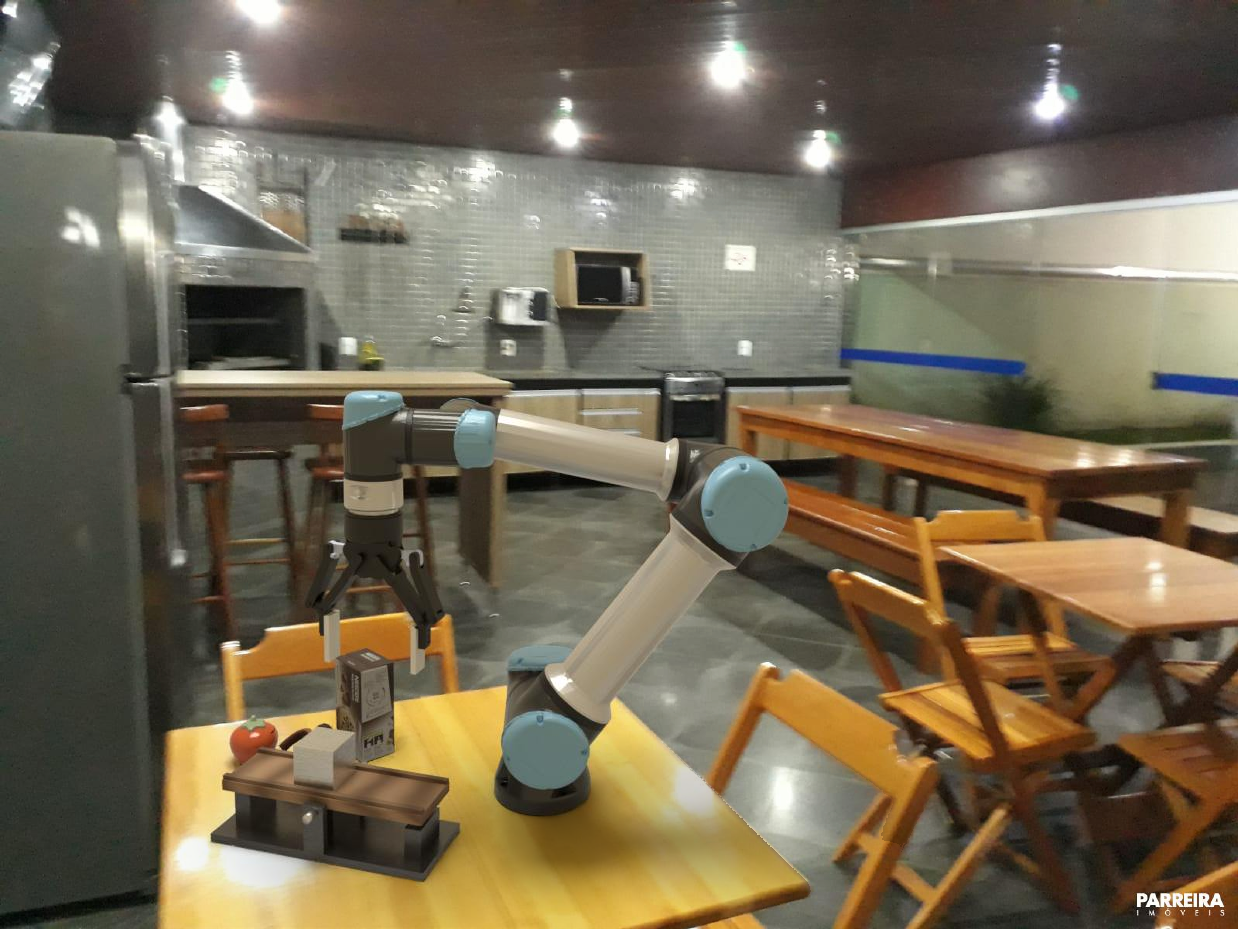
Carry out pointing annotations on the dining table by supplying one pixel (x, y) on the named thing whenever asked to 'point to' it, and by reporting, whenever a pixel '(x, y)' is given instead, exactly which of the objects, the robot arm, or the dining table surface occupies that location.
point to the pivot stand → (337, 836)
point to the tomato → (252, 738)
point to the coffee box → (366, 701)
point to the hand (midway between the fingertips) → (374, 664)
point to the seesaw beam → (343, 788)
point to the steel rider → (324, 758)
